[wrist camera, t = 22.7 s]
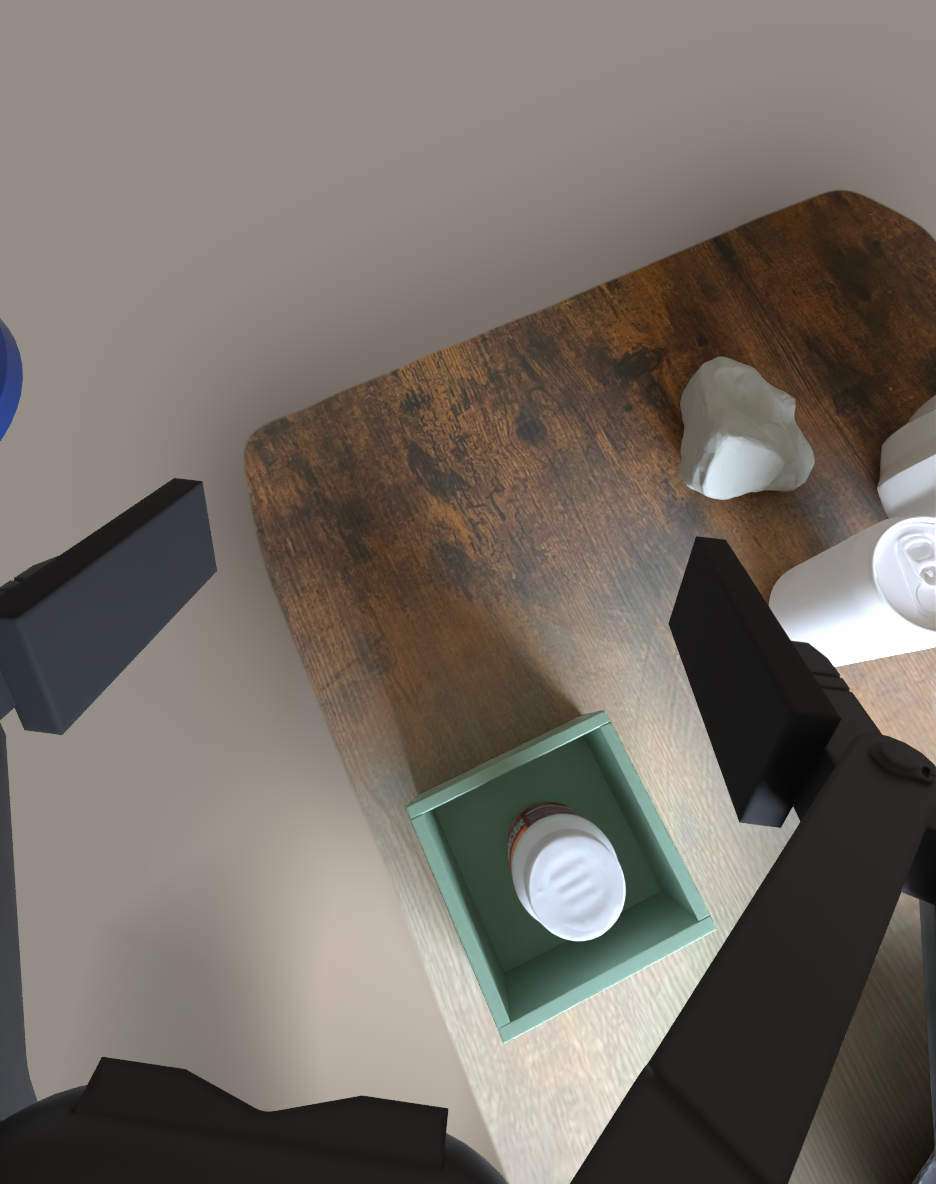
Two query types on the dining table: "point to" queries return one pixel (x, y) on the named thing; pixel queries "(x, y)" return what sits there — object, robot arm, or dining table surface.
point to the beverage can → (864, 593)
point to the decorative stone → (740, 433)
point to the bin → (486, 891)
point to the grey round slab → (927, 1172)
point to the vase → (910, 466)
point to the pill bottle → (565, 871)
